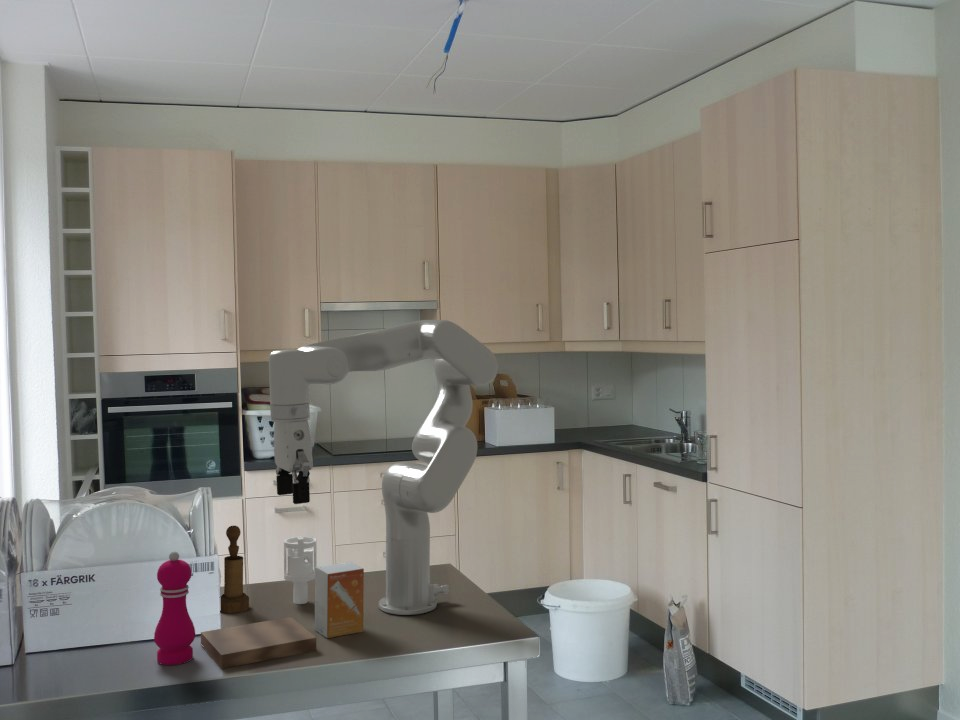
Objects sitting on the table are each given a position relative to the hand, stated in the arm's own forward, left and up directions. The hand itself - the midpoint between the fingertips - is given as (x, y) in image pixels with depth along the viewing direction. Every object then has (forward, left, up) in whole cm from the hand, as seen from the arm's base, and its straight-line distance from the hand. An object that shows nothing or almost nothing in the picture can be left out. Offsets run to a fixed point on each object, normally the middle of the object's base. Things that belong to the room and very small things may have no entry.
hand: (293, 498), depth 183 cm
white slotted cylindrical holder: (-9, -19, -28) cm, 35 cm away
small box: (-9, +3, -28) cm, 29 cm away
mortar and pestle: (+5, -22, -28) cm, 36 cm away
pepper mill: (+23, +2, -28) cm, 36 cm away
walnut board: (+8, +4, -27) cm, 29 cm away
